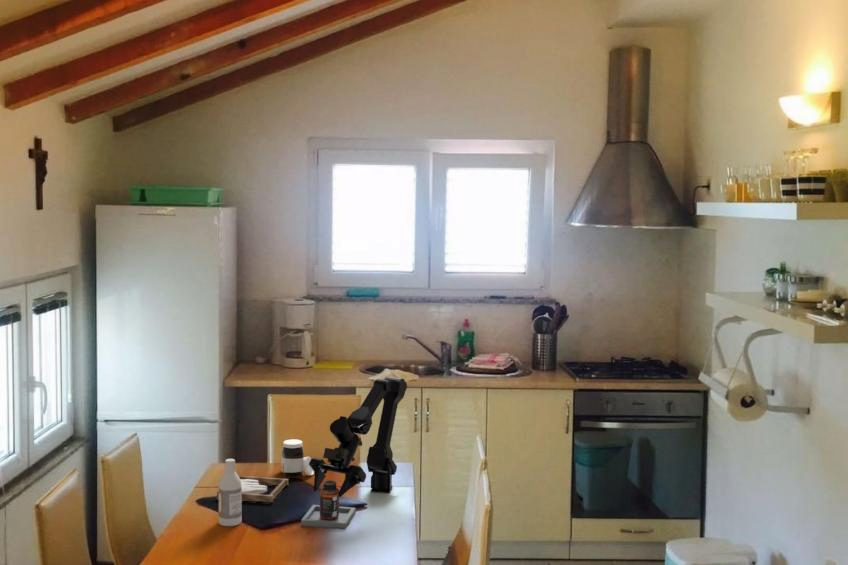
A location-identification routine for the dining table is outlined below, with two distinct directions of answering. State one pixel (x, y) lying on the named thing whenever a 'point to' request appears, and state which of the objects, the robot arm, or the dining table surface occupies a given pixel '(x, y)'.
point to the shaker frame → (263, 481)
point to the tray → (315, 520)
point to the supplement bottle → (329, 501)
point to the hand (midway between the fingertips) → (326, 493)
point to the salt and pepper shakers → (252, 486)
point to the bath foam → (230, 496)
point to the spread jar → (295, 459)
